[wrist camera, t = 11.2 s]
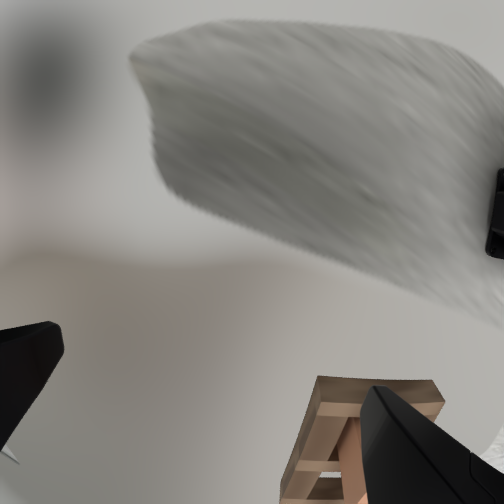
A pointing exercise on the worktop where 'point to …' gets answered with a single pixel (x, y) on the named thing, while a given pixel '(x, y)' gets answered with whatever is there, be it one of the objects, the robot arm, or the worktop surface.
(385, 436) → the robot arm
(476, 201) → the worktop surface
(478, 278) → the worktop surface
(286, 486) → the socket block
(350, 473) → the tan rectangular block
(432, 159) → the worktop surface
